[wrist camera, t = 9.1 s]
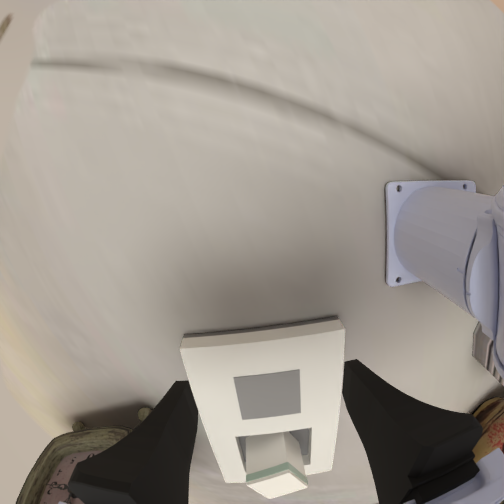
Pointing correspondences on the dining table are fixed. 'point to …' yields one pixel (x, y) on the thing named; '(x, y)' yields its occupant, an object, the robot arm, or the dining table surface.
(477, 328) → the grey angular piece
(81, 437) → the tabletop clock
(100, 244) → the dining table surface
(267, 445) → the block
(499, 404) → the ceramic jug
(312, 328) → the power strip
